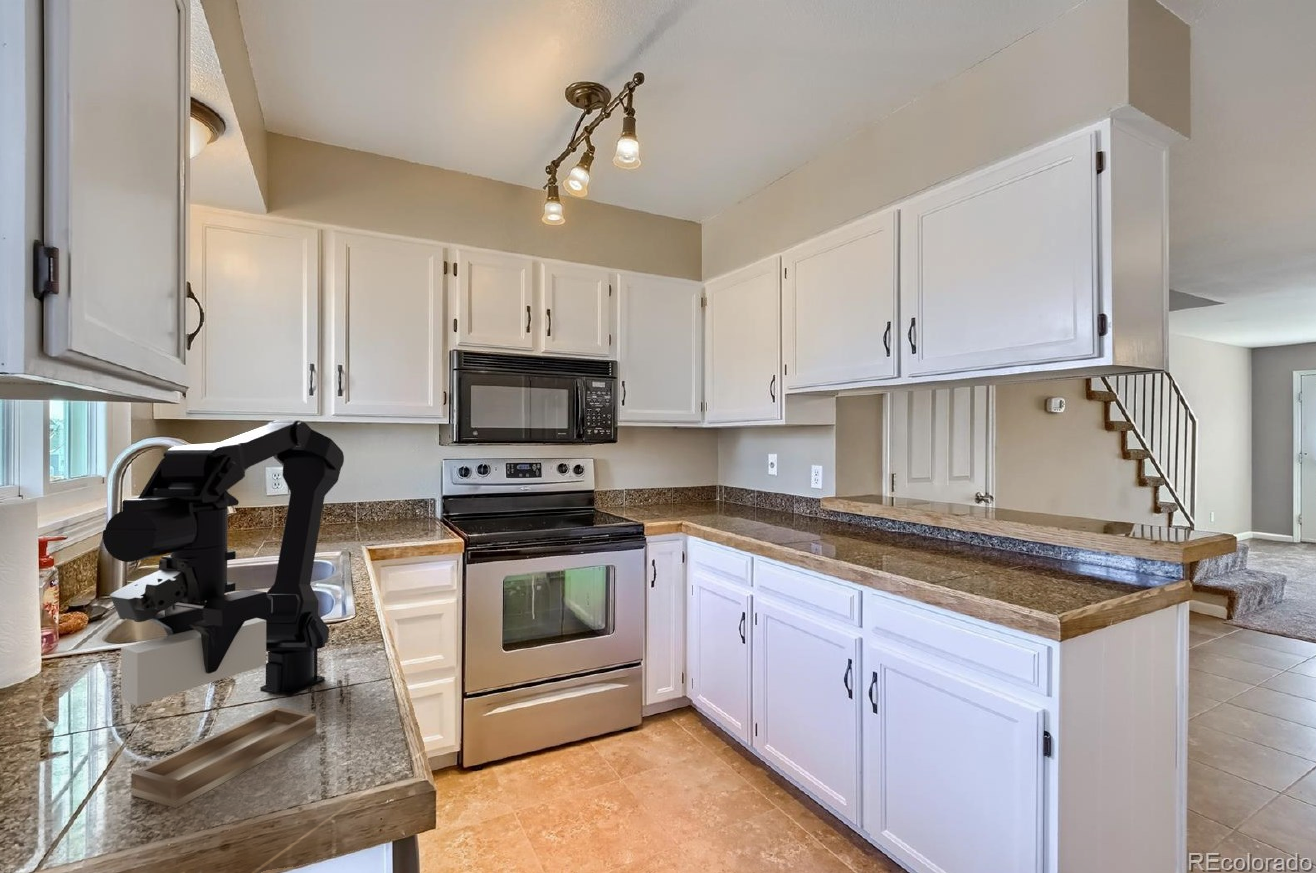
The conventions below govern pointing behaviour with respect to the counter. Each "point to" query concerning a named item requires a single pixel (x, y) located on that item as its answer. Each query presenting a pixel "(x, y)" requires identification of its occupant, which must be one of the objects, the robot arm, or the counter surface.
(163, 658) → the white rectangular block
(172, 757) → the brown rectangular tray
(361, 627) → the counter surface
